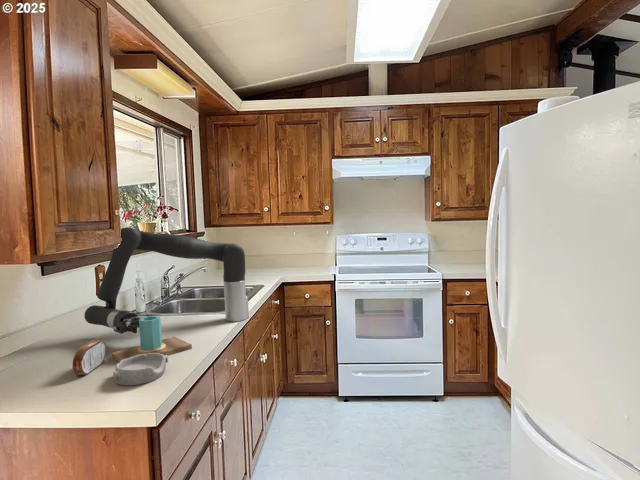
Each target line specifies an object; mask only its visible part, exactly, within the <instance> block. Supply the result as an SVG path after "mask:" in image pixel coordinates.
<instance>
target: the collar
mask: <svg viewBox="0 0 640 480" xmlns="http://www.w3.org/2000/svg"><path fill="white" fill-rule="evenodd" d="M143 317H144V318H141V319H140V320H139V328H138V329H139V339H140V342H139V343H140V345H141V349H142V350H145V351H146V350H155V349H158V348H161V346H162V340H163V337H162V334H163V333H162V323H161V321H162V319H161V316H158V315H152V316H148V317H146V316H143Z"/></svg>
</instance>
